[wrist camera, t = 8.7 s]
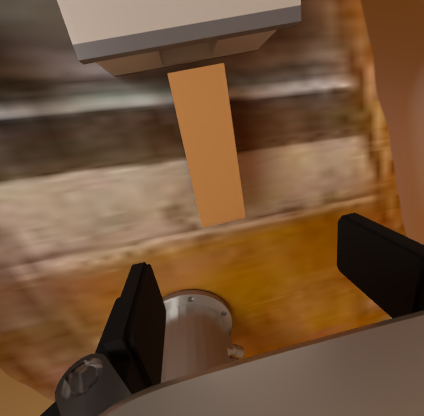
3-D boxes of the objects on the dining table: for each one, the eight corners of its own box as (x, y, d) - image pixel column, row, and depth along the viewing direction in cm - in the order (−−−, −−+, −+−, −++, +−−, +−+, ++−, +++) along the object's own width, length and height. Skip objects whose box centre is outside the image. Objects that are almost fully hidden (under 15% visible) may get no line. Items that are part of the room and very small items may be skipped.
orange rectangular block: (212, 80, 21) (223, 62, 15) (231, 197, 25) (245, 217, 19) (171, 88, 20) (167, 73, 15) (197, 205, 25) (202, 227, 19)
